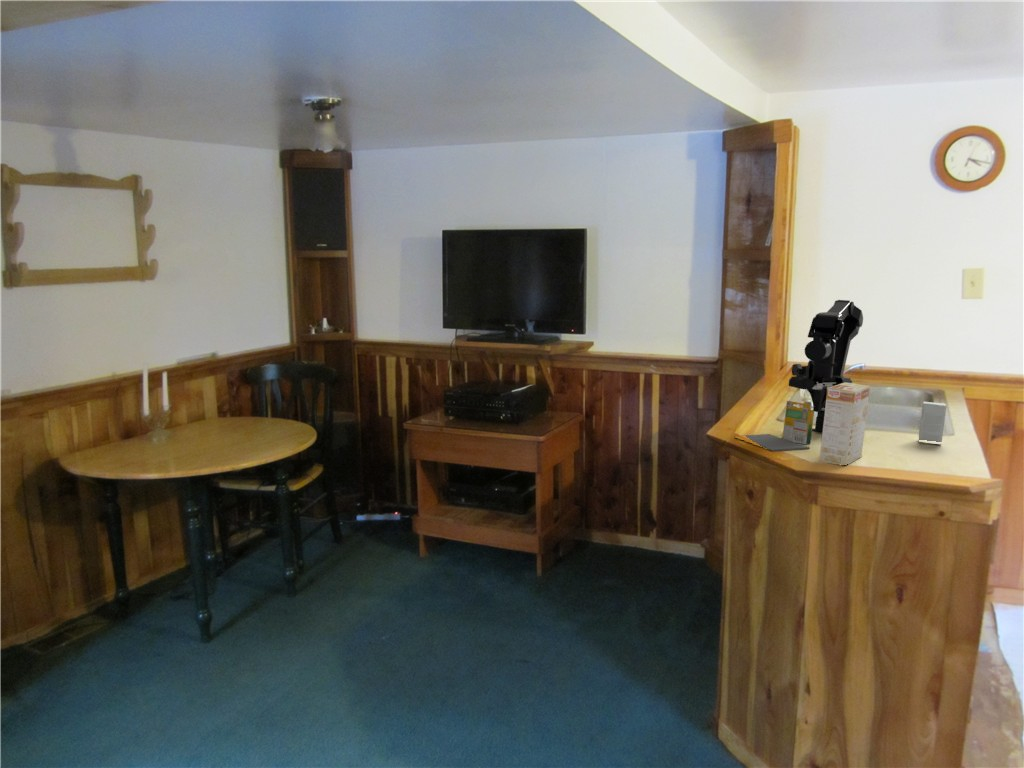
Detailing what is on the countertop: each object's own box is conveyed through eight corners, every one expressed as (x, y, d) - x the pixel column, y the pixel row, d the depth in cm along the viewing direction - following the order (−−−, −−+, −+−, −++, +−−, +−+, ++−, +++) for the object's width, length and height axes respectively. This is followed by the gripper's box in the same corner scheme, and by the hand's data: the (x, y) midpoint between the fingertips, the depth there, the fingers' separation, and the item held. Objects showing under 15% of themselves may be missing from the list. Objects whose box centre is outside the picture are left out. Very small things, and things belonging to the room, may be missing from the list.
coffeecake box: (835, 451, 211) (843, 381, 208) (862, 457, 207) (871, 385, 204) (817, 461, 200) (826, 387, 197) (846, 466, 195) (855, 391, 192)
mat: (769, 435, 227) (769, 434, 227) (809, 449, 213) (809, 447, 213) (733, 437, 222) (733, 436, 222) (772, 451, 208) (772, 449, 208)
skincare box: (940, 443, 229) (945, 403, 227) (941, 445, 226) (947, 405, 224) (917, 440, 232) (922, 401, 230) (918, 442, 228) (923, 403, 226)
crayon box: (811, 443, 220) (815, 403, 218) (805, 445, 218) (810, 404, 216) (787, 438, 225) (791, 399, 223) (782, 439, 223) (786, 400, 221)
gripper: (826, 354, 231) (820, 405, 234) (777, 354, 224) (772, 407, 226) (856, 359, 221) (849, 412, 223) (806, 360, 214) (800, 415, 216)
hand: (817, 411), depth 223 cm, fingers closed
